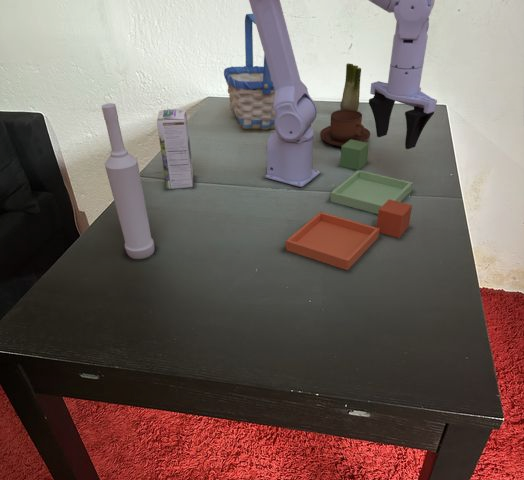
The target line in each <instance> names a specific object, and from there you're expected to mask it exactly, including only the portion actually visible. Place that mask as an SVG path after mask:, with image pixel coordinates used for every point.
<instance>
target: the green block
mask: <svg viewBox="0 0 524 480" xmlns="http://www.w3.org/2000/svg"><path fill="white" fill-rule="evenodd" d="M340 147H341V149H340V163H339V166H340V167H343V168H347V169H351V170H356V171H358V170H360V169H362V168H363V167H364V166H365V165H367V164H368V156H369V147H370V143H369V142H366V141H365V142H361V141H356V140H352V139H351V140H349V141H348V142H347V143H345V144H344V145H342V146H340Z"/></svg>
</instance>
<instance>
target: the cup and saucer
mask: <svg viewBox="0 0 524 480" xmlns="http://www.w3.org/2000/svg"><path fill="white" fill-rule="evenodd" d="M362 121H363V114H362V113H361V112H360V111H358V110H357V111H354V110H341V109H339V110H335V111H332V112H331V113H330V125H328V126H325V127H324V128H323V129H321V130H320V133H319V135H320V138H321V140H323V141H324V142H326V143H327V144H329V145H332V146H336V147H342V145H344V144H345V143H347V142H348V141H349V140H351V139H352V140H356V141H361V142H366V141H368V140H369V139H370V137H371V132H370V130H369V129H368V128H366V127H365V126H364V125H363V124H362Z"/></svg>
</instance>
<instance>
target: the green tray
mask: <svg viewBox="0 0 524 480" xmlns="http://www.w3.org/2000/svg"><path fill="white" fill-rule="evenodd" d="M412 189H413V182H411V181H406V180H403V179H398V178H394V177H390V176H387V175H382V174H377V173H373V172H369V171H365V170H360V169H359V170H356V171H355V172H354V173H352V174H351V175H350V176H349V177H348V178H347V179H345V180H343V182H342V183H340V184H339V185H338V186H337V187H336V188H335V189H333V190H332V191H331V192H330V200H329V201H330V202H331V203H335V204H339V205H342V206H346V207H350V208H354V209H356V210H361V211H364V212H368V213H372V214H376V215H378V211H379V209H380V208H381V207H382V206H383V205H384V204H385V203H386V202H387V201H388V200H389V199H390V200H394V201H398V202H402V201H404V199H406V197H407V196H408V195H409V194H410V193H412Z"/></svg>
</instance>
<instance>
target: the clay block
mask: <svg viewBox="0 0 524 480" xmlns="http://www.w3.org/2000/svg"><path fill="white" fill-rule="evenodd" d="M412 209H413V204H409V203H405V202H402V201H401V202H398V201H394V200H390V199H389V200H388V201H387V202H386V203H385V204H384V205H383V206H382V207H381V208H380V209H379V211H378V214H377V219H376V226H375V227H376V228H380V230H379V234H383V235H386V236H390V237H393V238H397V239H400V237H401V236H402V235H403V234H404V233H405V232H406V231H407V230H408V228H409V227H410V220H411V215H412Z"/></svg>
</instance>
